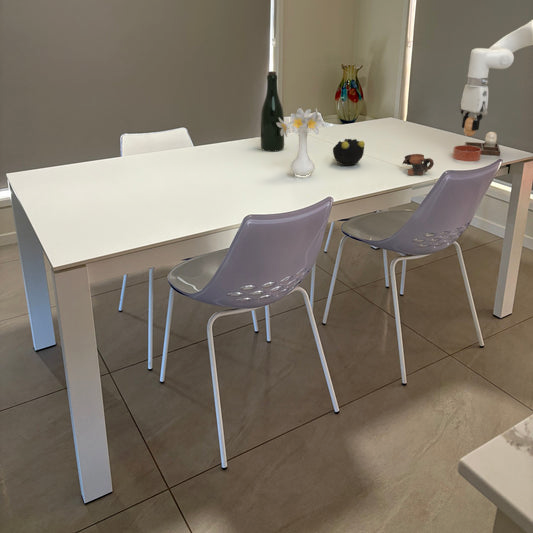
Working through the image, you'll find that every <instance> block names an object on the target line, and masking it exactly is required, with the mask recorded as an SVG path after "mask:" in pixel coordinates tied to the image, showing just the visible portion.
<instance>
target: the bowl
mask: <svg viewBox="0 0 533 533" xmlns="http://www.w3.org/2000/svg"><path fill="white" fill-rule="evenodd" d="M452 150H453V151H452V159H453V160H456V161H460V162H461V161H462V162H478V161H480V160H481V159H482V155H481V152H482V149H481V148H479V147H475V146H467V145H465V144H464V145H456V146H454V147H453V148H452Z"/></svg>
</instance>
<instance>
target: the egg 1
mask: <svg viewBox="0 0 533 533" xmlns="http://www.w3.org/2000/svg"><path fill="white" fill-rule="evenodd" d="M473 120H475V118H474V116H469V117H468V118H467V119H466V121H465V126H464V128H463V134H464V135H465V136H466V137H472V136H474V135H475V134H476V131H477V130H474V131H473V130H472V125H473Z"/></svg>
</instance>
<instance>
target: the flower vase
mask: <svg viewBox="0 0 533 533" xmlns="http://www.w3.org/2000/svg"><path fill="white" fill-rule="evenodd" d="M311 112H312V109H310V108H309V109H306V110H305V111H304V110H303V108H301V107H299V108H297V111H296V113H292V112H291V113H290V119H291V121H289V122H288V123H286V122H285V121H284V122H283V121H282V120H281V118H280V117H279V121H280V122H281V123H279V122H277V123H276V124H277V126H278V127H280V128H282V129H281V131H280V133H281V136H283V134H284V137H285V138H288V129H290V128H293V132H294V134H298V147H297V148H298V150H297V154H296V157H295V159H293V161H291V163H290V166H289V170H290V171H291V173H292V174H293V176H294V177H295V178H297V179H307V178H310V177H311V174H313V173H314V171H315V170H316V168H315V167H316V166H315V163H314V161H313V160H311V158H310V156H309V153H308V134H309V133H310V132H311V131H313V133H314V134H316V135H318V134H319V133H320V131H319V128H318V126H322V127H324V128H325V127H326V125H325V124H324V123H323V120H322V119H323V118H322V116H321V114H319V112H318V108H316V107H315V112H313V113H312V114H311ZM310 114H311V115H310ZM294 174H296V175H300V176H306V175H309V174H310V176H308V177H297V176H295V175H294Z"/></svg>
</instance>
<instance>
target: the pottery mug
mask: <svg viewBox="0 0 533 533" xmlns="http://www.w3.org/2000/svg"><path fill="white" fill-rule="evenodd" d="M434 164H435V163H434V160H433V159H432V158H430V157H428V158H426V157H425V155H424V154H421V153H411V154H407V155H405V156H404V160H403V162H402V165H407V166H412V167H411V168H408V169H407V175H408V176H413V175H418V176H424V173H427V172H428V171H429V170H431V169H432V168H433V166H434Z"/></svg>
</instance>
